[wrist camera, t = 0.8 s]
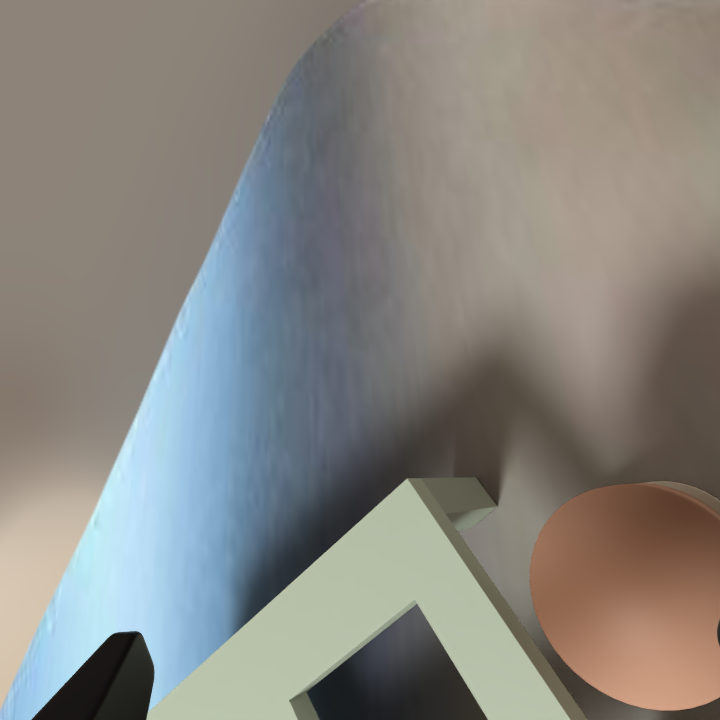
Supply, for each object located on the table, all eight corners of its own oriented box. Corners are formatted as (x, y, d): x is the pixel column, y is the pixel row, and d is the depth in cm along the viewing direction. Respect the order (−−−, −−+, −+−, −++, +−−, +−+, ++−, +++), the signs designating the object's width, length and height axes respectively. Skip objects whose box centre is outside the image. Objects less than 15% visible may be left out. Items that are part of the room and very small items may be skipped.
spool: (801, 581, 18) (825, 635, 12) (665, 666, 20) (626, 752, 14) (674, 451, 21) (642, 442, 15) (563, 536, 23) (492, 560, 16)
